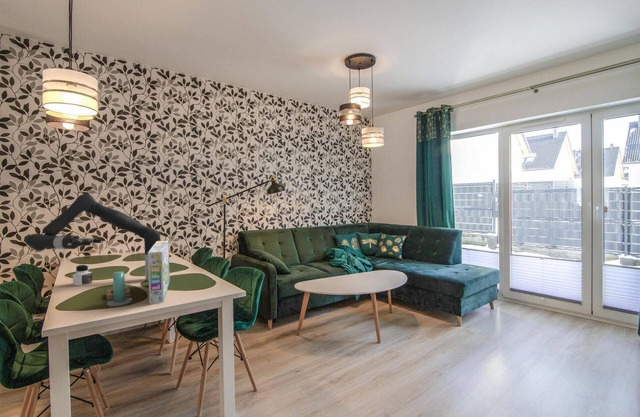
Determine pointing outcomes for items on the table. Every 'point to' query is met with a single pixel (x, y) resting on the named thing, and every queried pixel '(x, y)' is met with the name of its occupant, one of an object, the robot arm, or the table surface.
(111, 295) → the pocket block
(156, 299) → the game box
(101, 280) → the table surface
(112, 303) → the coaster
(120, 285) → the tall teal cylinder
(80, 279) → the medicine bottle
